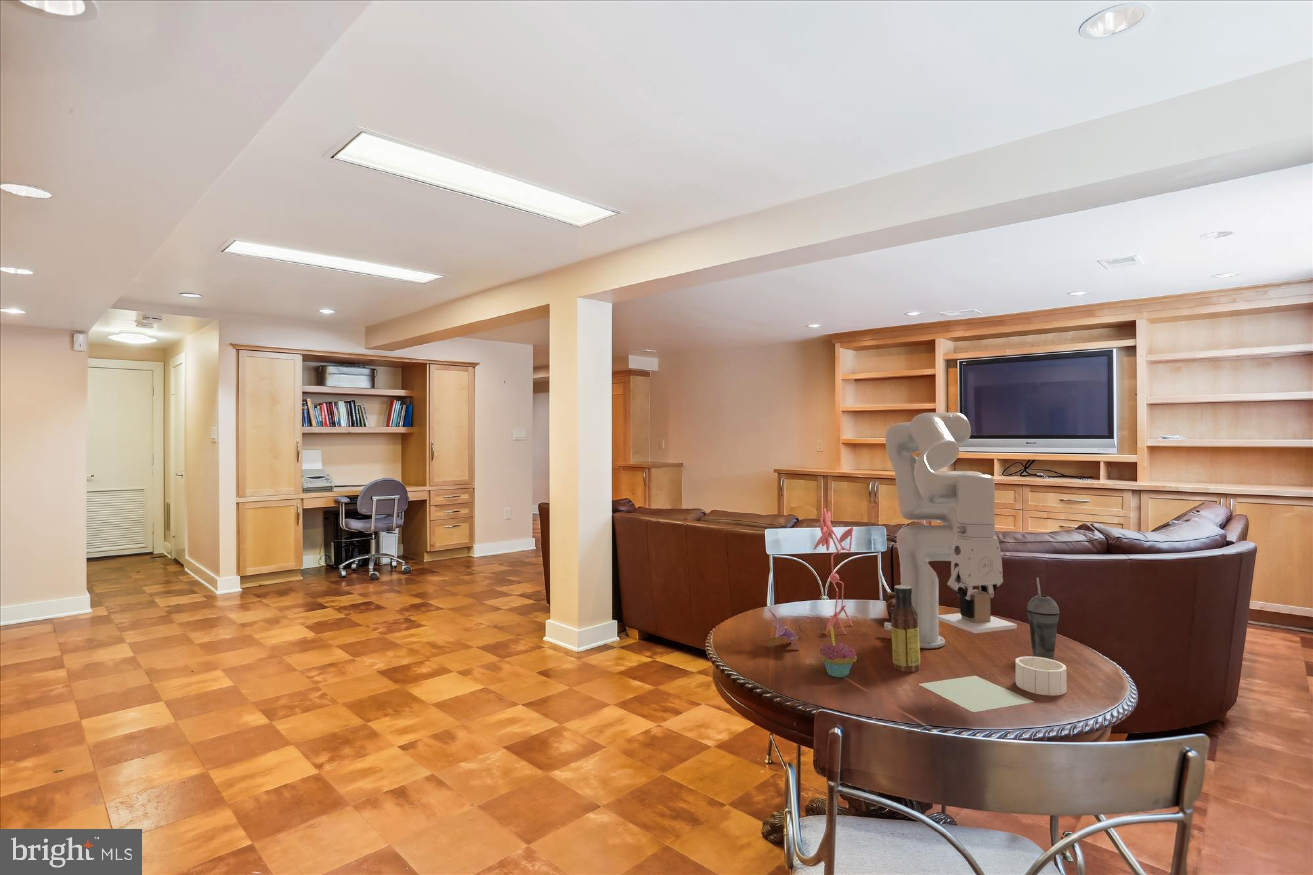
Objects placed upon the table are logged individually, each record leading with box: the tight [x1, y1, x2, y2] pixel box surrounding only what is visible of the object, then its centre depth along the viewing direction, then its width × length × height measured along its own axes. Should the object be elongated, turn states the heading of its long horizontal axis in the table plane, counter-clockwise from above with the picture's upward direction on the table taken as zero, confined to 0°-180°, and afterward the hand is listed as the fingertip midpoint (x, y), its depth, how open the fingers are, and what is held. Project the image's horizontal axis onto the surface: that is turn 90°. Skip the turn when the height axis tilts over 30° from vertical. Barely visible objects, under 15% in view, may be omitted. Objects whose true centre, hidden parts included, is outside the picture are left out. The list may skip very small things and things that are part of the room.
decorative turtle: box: [884, 591, 895, 621], centre depth 199 cm, size 10×15×8 cm, turn 27°
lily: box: [767, 608, 800, 650], centre depth 174 cm, size 12×12×10 cm
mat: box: [918, 675, 1035, 713], centre depth 142 cm, size 16×16×1 cm
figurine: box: [807, 507, 858, 635], centre depth 194 cm, size 15×26×35 cm, turn 152°
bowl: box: [1015, 655, 1068, 697], centre depth 145 cm, size 10×10×6 cm
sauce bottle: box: [890, 584, 921, 673], centre depth 158 cm, size 6×6×20 cm
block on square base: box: [937, 589, 1018, 634], centre depth 142 cm, size 11×11×7 cm
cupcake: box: [819, 624, 858, 678], centre depth 155 cm, size 9×8×12 cm
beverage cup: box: [1026, 577, 1061, 660], centre depth 166 cm, size 7×7×20 cm
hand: (975, 614), depth 142 cm, fingers closed on block on square base, 4 cm apart
